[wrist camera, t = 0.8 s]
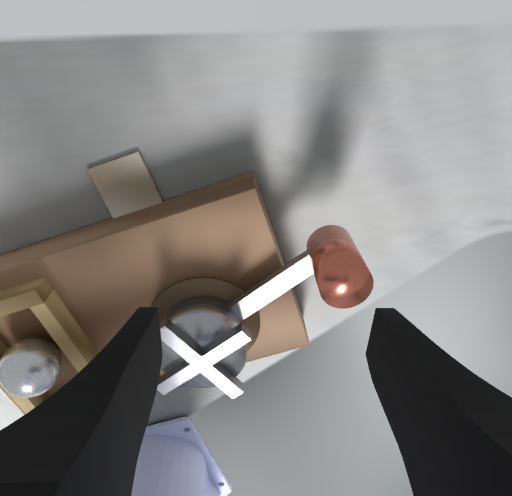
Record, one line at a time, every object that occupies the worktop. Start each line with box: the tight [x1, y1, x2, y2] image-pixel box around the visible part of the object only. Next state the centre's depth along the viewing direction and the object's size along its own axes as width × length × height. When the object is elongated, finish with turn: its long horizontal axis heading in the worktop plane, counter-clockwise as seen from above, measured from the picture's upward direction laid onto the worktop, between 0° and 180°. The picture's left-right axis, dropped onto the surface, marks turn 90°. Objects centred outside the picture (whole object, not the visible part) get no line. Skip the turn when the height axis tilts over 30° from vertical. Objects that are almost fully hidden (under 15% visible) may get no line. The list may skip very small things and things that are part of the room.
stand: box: [0, 151, 309, 414], centre depth 22 cm, size 13×18×4 cm
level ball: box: [0, 338, 63, 398], centre depth 21 cm, size 3×3×3 cm
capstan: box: [157, 225, 373, 399], centre depth 19 cm, size 12×6×4 cm, turn 128°
